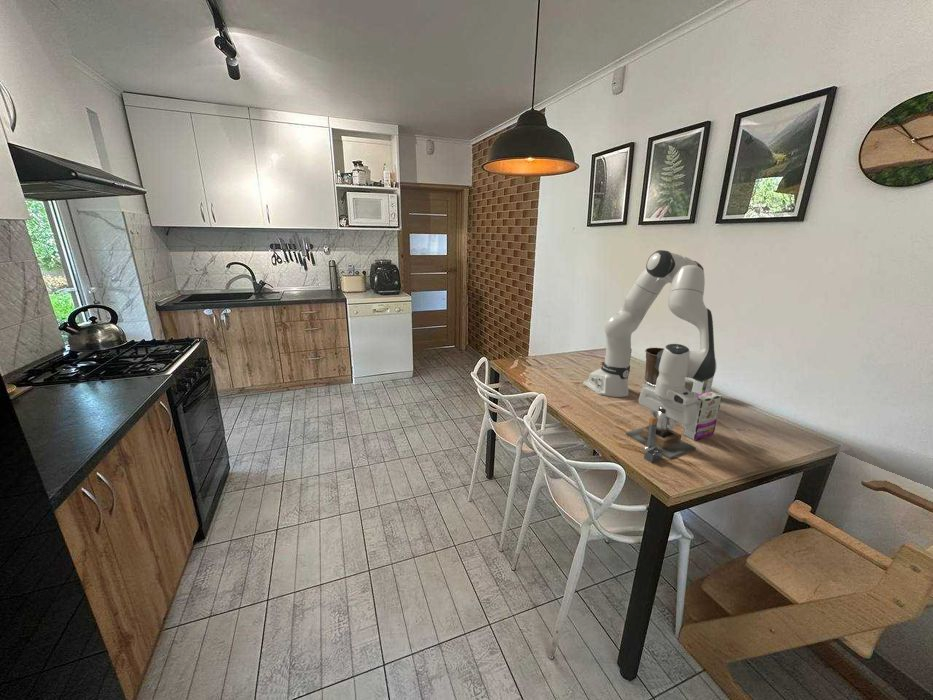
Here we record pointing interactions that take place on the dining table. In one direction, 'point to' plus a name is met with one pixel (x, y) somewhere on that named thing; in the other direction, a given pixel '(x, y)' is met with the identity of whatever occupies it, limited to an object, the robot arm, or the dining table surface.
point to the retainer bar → (652, 431)
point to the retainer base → (652, 454)
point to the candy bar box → (704, 416)
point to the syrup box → (702, 386)
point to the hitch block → (663, 442)
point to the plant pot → (651, 364)
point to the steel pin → (662, 423)
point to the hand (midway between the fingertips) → (662, 425)
